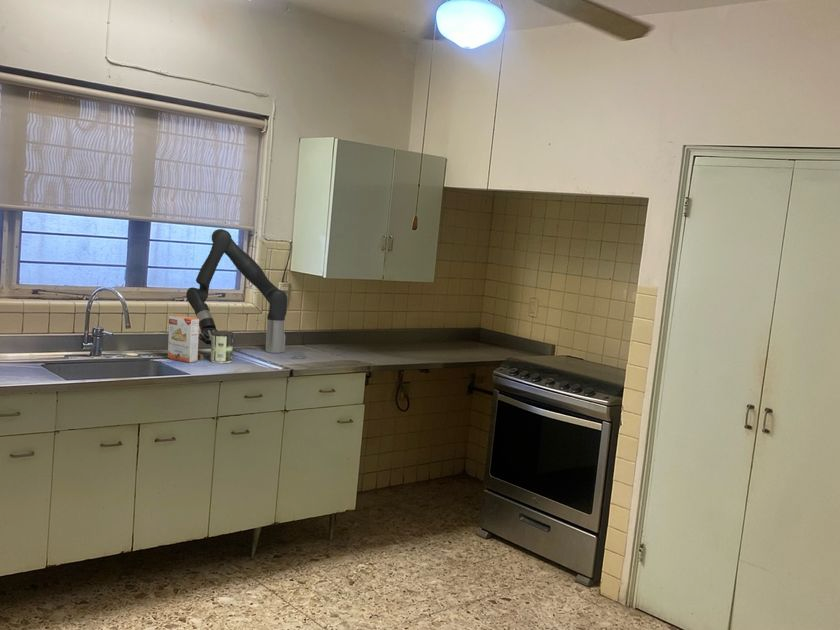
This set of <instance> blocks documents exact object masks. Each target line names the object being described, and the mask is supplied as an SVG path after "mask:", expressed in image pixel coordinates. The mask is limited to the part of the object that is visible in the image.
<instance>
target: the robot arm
mask: <svg viewBox="0 0 840 630" xmlns="http://www.w3.org/2000/svg"><path fill="white" fill-rule="evenodd" d="M211 242H212V245H211V247H210V248H211V249H210V251H209V254H208V255H207V257H206V259H205V261H204V262H203V264H202V265H201V267H200V270H199V272H198V273H197V276H196V278H195V282H196V283H197V284H198V285H199V288H197V287H189V288H188V289H187V290H186V293H185V295H186V300H187V302H188V303H189V305H190V306H191V308H192V309H193V310H194V311H193V312H194V314H195V316H196V317H195V318H197V319H199V331H200V333H199V337H198V340H200V341H202V342H203V343H204V344H206V345H209V346H211V338H212V334H211V332H214V331H219V330H218V329H217V326H216V323H215V320H214V317H213V315H212V313H211V311H210V307H209V306H208V303H206V301H207V300H208V297H209V290H210V285H211V281H212V280H213V277H214V275H215V272H216V270H217V268H218V265H219V263H220V261H221V259H222V258H223V255H224V254H225V255H226V256H227V257H228V258H229V260H230V261H231V262H232V263H233V265H234V267H236V269H237V270H238V271H239V272H240V273H241V275H243V277H244V278H246V280H248V281H249V283H251V284H252V285H253V287H255V288H256V289H258V290H259V292H260V293H261V294H262V296H263V297H264V298H265V299H266V302H268V304H269V308H268V313H267V316H266V331H265V332H266V335H265V352H266V353H270V354H273V353H274V354H282V353H285V352H286V339H287V338H286V335H287V334H286V333H285V324H286V323H285V322H286V316H287V312H288V311H287V310H288V295H287V293H286V292H285V291H284V290H282V289H279V288H278V287H277V286H276V285H274V283H272V282H271V280H269V279H268V277H267V276H266V273H265V272H264V271H263V269H262V268H261V267H260V265H259V264H258V263H257V262H256V260H254V258H252V257H251V256H250V255H249V254H247V253H246V252H245V251H244V250H243V249H242V248H241V247H240V246H238V244H237V243H236V242H235V241H234V240H233V239H232V235H231V233H230V232H229V231H228V230H226V229H223V228H220V229H219V228H218V229H215V230H214V231H213V232H212V234H211Z"/></svg>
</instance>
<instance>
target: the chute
mask: <svg viewBox="0 0 840 630" xmlns="http://www.w3.org/2000/svg"><path fill="white" fill-rule="evenodd" d="M198 359H199V361H203V360H204V354H202V353H199V352H198Z"/></svg>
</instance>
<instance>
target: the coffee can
mask: <svg viewBox="0 0 840 630" xmlns="http://www.w3.org/2000/svg"><path fill="white" fill-rule="evenodd" d="M211 334H212V338H211V345H210V362H211V363H215V364H230V363H232V362H233V347H234V346H233V345H234V344H233V343H234V331H233V332H232V331H225V330H218V331H214V332H211Z"/></svg>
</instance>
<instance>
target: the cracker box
mask: <svg viewBox="0 0 840 630" xmlns="http://www.w3.org/2000/svg"><path fill="white" fill-rule="evenodd" d="M168 318H169V319H168V337H167V338H168V342H167V345H168V346H167V359H168V358H170V359H169V360H172V359H174V361H177V360H178V361H179V362H182V363H187V364H191V363H196V362H198V353H199V338H198V337H199V335H200V327H199V319H197V317H189V316H184V315H180V314H179V315H177V314H176V315H169V317H168Z"/></svg>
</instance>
